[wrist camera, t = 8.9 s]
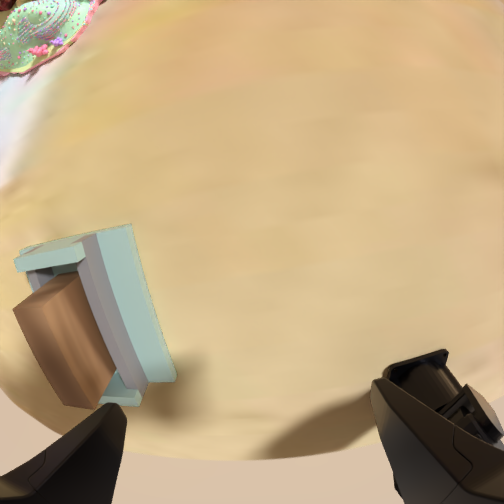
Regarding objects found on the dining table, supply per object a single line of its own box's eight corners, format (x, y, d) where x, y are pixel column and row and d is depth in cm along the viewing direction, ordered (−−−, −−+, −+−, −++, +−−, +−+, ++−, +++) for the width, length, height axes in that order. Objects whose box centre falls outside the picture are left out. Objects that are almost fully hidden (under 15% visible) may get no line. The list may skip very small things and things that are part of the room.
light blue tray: (131, 223, 19) (105, 239, 15) (177, 374, 23) (167, 407, 19) (26, 247, 19) (-4, 263, 16) (77, 372, 23) (59, 398, 20)
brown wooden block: (87, 269, 19) (41, 307, 13) (122, 359, 21) (94, 409, 16) (59, 273, 19) (12, 309, 13) (93, 358, 21) (63, 405, 16)
